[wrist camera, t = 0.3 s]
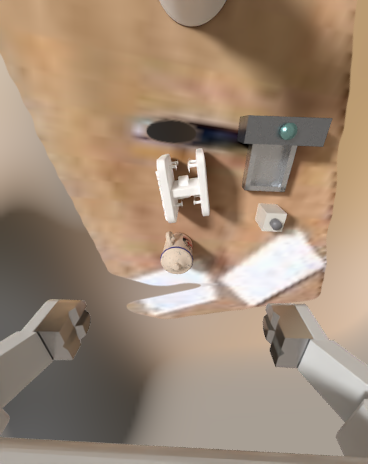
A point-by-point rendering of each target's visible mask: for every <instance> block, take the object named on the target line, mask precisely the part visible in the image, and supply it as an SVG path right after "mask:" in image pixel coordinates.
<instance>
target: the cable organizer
mask: <svg viewBox="0 0 368 464" xmlns="http://www.w3.org/2000/svg"><path fill="white" fill-rule="evenodd" d="M190 163H195V164H190ZM174 164H178V160H177V161H174V162H171V158H170V155H169V154H165V155H162V156H161V157H160V158H159V159H157V171H156V175H157V177H159V178H158V181H159V182H158V184H159V185H158V186H159V187H160V188H159V190H160V193H161V196H162V197H161V198H162V201H163V202H162V203H163V208H164V212H165V214H164V215H165V218H166V221H167V220H168V222H169V223H176V221H177V215H178V210H179V206H183V203H178V199H184V198H189V197H191V196H194V199H195V197H200V201H194V205H195V204H199V203H201V209H202V214H203V216H209V214H210V208H209V197H208V186H207V175H206V164H205V156H204V153H203V150H202V148H200V149H196V160H190V161H189V162H188V170H189V172H190V169H189V168H190V167H197V173H198V177H197V178H190V179H189V177H188V175H184V176H178V180H174V174H173V168H176V169H177V165H174ZM181 202H182V201H181Z"/></svg>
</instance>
